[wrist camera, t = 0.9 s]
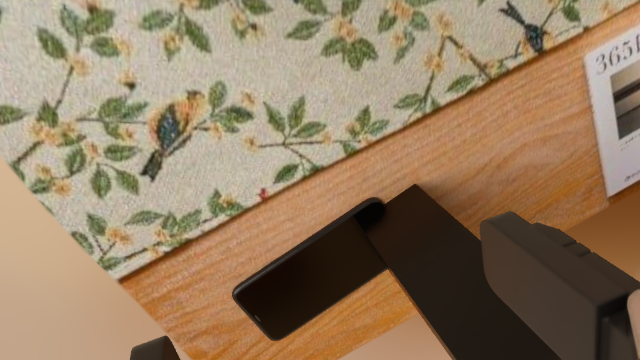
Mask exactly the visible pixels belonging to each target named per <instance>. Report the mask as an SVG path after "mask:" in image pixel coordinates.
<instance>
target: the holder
mask: <svg viewBox="0 0 640 360" xmlns="http://www.w3.org/2000/svg"><path fill="white" fill-rule="evenodd" d="M359 226H360V228H361V229H362V231H363V232H364V234H365V235H366V237H367V238H368V240H369V241H370V243H371V244H372V246H373V247H374V249H375V250H376V252H377V253H378V255H379V256H380V258H381V259H382V261H383V262H384V264H385V265H386V267H387V269H388V270H389V271H390V273H391V274H392V276H393V277H394V278H395V280H396V281H397V283H398V284H399V285H400V287H401V288H402V290H403V291H404V293H405V294H406V295H407V297H408V298H409V300H410V301H411V302H412V304H413V305H414V307H415V308H416V309H417V311H418V312H419V314H420V315H421V316H422V318H423V319H424V320H425V322H426V323H427V325H428V326H429V328H430V329H431V330H432V332H433V333H434V334H435V336H436V337H437V339H438V340H439V342H440V343H441V344H442V346H443V347H444V349H445V350H446V351H447V353H448V354H449V356H450V357H451V358H452V360H562V359H561V358H560V357H559V356H558V355H557V354H556V353H555V352H554V351H553V350H552V349H551V348H550V347H549V346H548V345H547V344H546V343H545V342H544V341H543V340H542V339H541V338H540V337H539V336H538V335H537V334H536V333H535V332H534V331H533V330H532V329H531V328H530V327H529V326H528V325H527V324H526V323H525V322H524V321H523V320H522V319H521V318H520V317H519V316H518V315H517V314H516V313H515V312H514V311H513V310H512V309H511V308H510V307H509V306H508V305H507V304H506V303H504V302H503V301H502V300H501V299H500V298H499V297H498V296H497V295H496V293H495V292H494V291H493V290H492V288H491V287H490V285H489V283H488V281H487V279H486V276H485V273H484V267H483V256H482V246H481V241H480V240H479V239H478V238H477V237H476V236H475V235H473V234H472V233H471V232H470V231H469V230H468V229H467V228H465V227H464V226H463V225H462V224H461V223H460V222H459V221H457V220H456V219H455V218H454V217H453V216H452V215H451V214H450V213H448V212H447V211H446V210H445V209H444V208H443V207H442V206H440V205H439V204H438V203H437V202H436V201H435V200H434V199H432V198H431V197H430V196H429V195H428V194H427V193H426V192H424V191H423V190H422V189H421V188H420V187H419V186H418V185H416V184H414V185H413V186H411V187H410V188H408V189H407V190H405V191H404V192H402V193H401V194H399V195H398V196H396V197H395V198H393V199H392V200H390V201H389V202H387V203H386V204H384V208H383V209H382V210H380V211H379V212H377V213H376V214H374V215H373V216H372V217H370V218H369V219H367V220H366V221H364V222H363V223H361V224H360V225H359Z"/></svg>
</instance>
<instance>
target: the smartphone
mask: <svg viewBox="0 0 640 360" xmlns="http://www.w3.org/2000/svg"><path fill="white" fill-rule="evenodd" d="M383 208H384V205H383V203H382V202H381V201H380V200H379V199H378V198H375V197H372V198H368V199H366V200H365V201H363V202H361V203H360V204H358V205H357V206H355V207H354V208H352V209H351V210H349V211H348V212H346V213H345V214H343V215H342V216H340V217H339V218H337V219H336V220H334V221H333V222H331V223H330V224H328V225H327V226H325V227H324V228H322V229H321V230H319V231H318V232H316V233H315V234H313V235H312V236H310V237H309V238H307V239H306V240H304V241H303V242H301V243H300V244H298V245H297V246H295V247H294V248H292V249H291V250H289V251H288V252H286V253H285V254H283V255H282V256H280V257H279V258H277V259H276V260H274V261H273V262H271V263H270V264H268V265H267V266H265V267H264V268H262V269H261V270H259V271H258V272H256V273H255V274H253V275H252V276H250V277H249V278H247V279H246V280H244V281H243V282H241V283H240V284H238V285H237V286H236V287H235V288H234V289H233V292H232V297H233V299H234V301H235V302H236V303H237V304H238V306H239V307H240V308H241V309H242V310H243V311H244V312H245V313H246V314H247V315H248V316H249V318H250V319H251V320H252V321H253V322H254V323H255V324H256V325H257V326H258V327H259V328H260V330H261V331H262V332H263V333H264V334H265V335H266V336H267V337H268V338H269V339H271V340H273V341H279V340H282V339H284V338H285V337H287V336H288V335H290V334H291V333H293V332H294V331H296V330H297V329H299V328H300V327H302V326H303V325H305V324H306V323H308V322H309V321H311V320H312V319H314V318H315V317H317V316H318V315H320V314H321V313H323V312H324V311H326V310H327V309H329V308H330V307H332V306H333V305H334V304H336V303H337V302H339V301H340V300H342V299H343V298H345V297H346V296H348V295H349V294H351V293H352V292H354V291H355V290H357V289H358V288H360V287H361V286H363V285H364V284H366V283H367V282H369V281H370V280H372V279H373V278H375V277H376V276H378V275H379V274H381V273H382V272H384V271H385V270H387V267H386V265H385V264H384V262H383V261H382V259H381V258H380V256H379V255H378V253H377V252H376V250H375V249H374V247H373V246H372V244H371V243H370V241H369V240H368V238H367V237H366V235H365V234H364V232H363V231H362V229H361V228H360V226H359V225H360V224H361V223H363V222H364V221H366V220H367V219H369V218H370V217H372V216H373V215H374V214H376V213H377V212H379V211H380V210H382V209H383Z"/></svg>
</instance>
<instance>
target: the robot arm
mask: <svg viewBox="0 0 640 360" xmlns="http://www.w3.org/2000/svg"><path fill="white" fill-rule="evenodd" d="M480 236H481V246H482V256H483V267H484V273H485V276H486V279H487V281H488V283H489V285H490V287H491V288H492V290H493V291H494V292H495V293H496V295H497V296H498V297H499V298H500V299H501V300H502V301H503V302H504V303H506V304H507V305H508V306H509V307H510V308H511V309H512V310H513V311H514V312H515V313H516V314H517V315H518V316H519V317H520V318H521V319H522V320H523V321H524V322H525V323H526V324H527V325H528V326H529V327H530V328H531V329H532V330H533V331H534V332H535V333H536V334H537V335H538V336H539V337H540V338H541V339H542V340H543V341H544V342H545V343H546V344H547V345H548V346H549V347H550V348H551V349H552V350H553V351H554V352H555V353H556V354H557V355H558V356H559V357H560V358H561V359H562V360H640V282H639V281H637V280H636V279H634V278H633V277H631V276H630V275H628V274H627V273H625V272H624V271H622V270H620V269H619V268H617V267H616V266H614V265H613V264H611V263H610V262H608V261H607V260H605V259H603V258H602V257H600V256H599V255H597V254H596V253H594V252H593V253H592V252H591V251H590V249H588V248H587V247H585V246H584V245H582V244H581V243H577V242H576V240H574V239H573V238H571V237H570V236H568V235H567V234H565V233H564V232H562V231H561V230H559V229H556V228H553V227H550V226H547V225H543V224H540V223H534V224H530V223H529V222H527V221H526V220H524V219H523V218H521V217H520V216H518V215H517V214H516V213H514V212H511V211H508V212H505V213H503V214H500V215H497V216H494V217H492V218H489V219H486V220H483V221H482V222H481V224H480ZM130 360H180V358H179V356H178V354H177V352H176V350H175V348H174V346H173V344H172V342H171V340H170V339H169V337H168V336H163V337H160V338H157V339H154V340H152V341H149V342H147V343H143V344H141V345H138V346H135V347H133V348H132V351H131V357H130Z"/></svg>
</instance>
